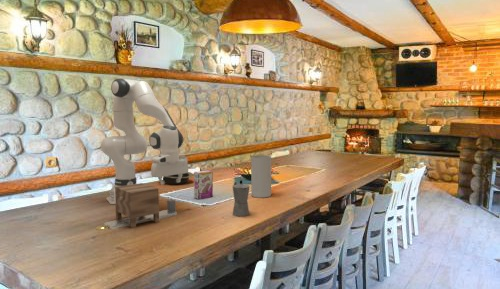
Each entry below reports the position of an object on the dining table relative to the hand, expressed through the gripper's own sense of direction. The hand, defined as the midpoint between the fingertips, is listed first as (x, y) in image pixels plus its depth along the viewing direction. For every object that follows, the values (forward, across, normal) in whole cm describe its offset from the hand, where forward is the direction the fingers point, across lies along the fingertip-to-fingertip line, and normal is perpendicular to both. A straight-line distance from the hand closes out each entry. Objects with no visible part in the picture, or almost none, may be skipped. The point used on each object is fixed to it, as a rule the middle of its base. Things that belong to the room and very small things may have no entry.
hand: (170, 183), depth 198 cm
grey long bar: (+16, +16, +1) cm, 23 cm away
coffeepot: (+16, -27, +25) cm, 40 cm away
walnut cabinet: (+16, +19, +1) cm, 25 cm away
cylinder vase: (+16, -63, +3) cm, 65 cm away
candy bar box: (+17, -33, -17) cm, 41 cm away
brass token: (+16, +36, +1) cm, 40 cm away
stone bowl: (+18, -45, -69) cm, 85 cm away
